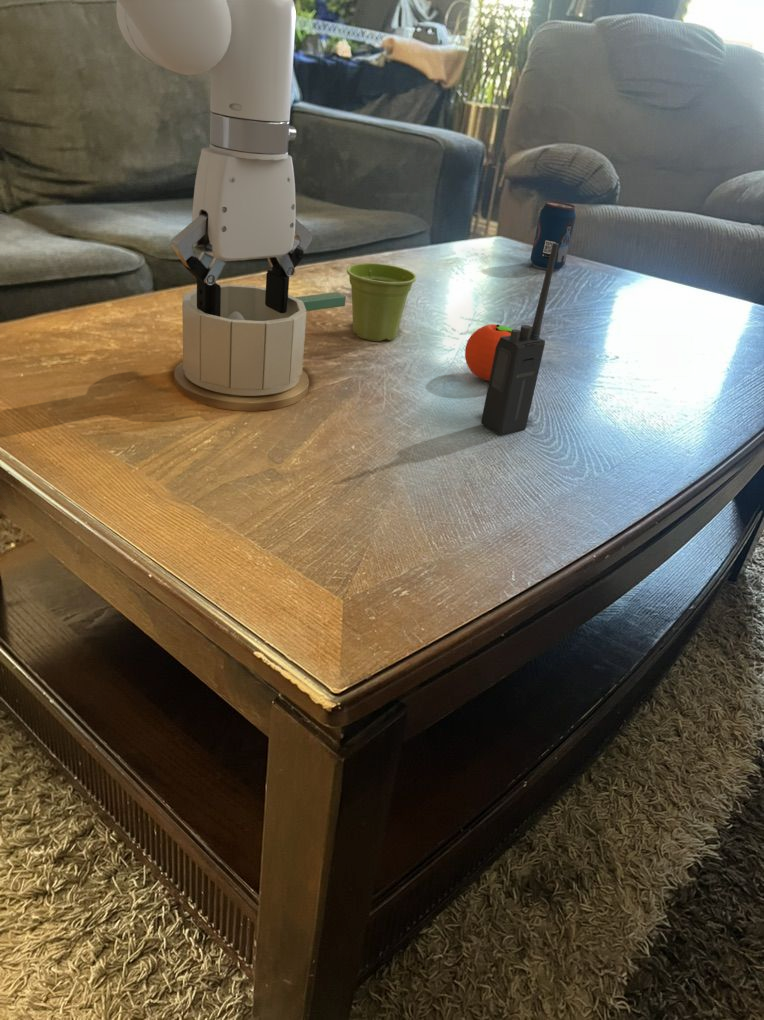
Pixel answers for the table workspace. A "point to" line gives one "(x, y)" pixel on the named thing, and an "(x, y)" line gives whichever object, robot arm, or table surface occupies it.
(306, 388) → the disc
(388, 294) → the plant pot
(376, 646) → the table surface
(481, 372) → the clementine
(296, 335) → the pot
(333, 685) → the table surface
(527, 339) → the walkie-talkie
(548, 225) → the soda can
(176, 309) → the table surface
